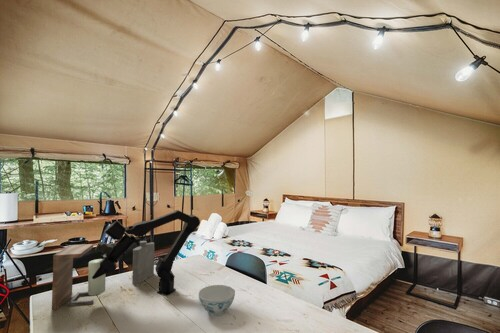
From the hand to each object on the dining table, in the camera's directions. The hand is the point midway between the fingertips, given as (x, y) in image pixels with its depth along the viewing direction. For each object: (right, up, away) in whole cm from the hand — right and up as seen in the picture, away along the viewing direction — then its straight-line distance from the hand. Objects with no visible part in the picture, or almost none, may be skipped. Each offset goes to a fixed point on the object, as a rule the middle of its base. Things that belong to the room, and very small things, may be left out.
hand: (93, 275), depth 113 cm
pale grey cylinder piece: (+1, -7, 0) cm, 7 cm away
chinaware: (+53, -13, -4) cm, 55 cm away
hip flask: (+9, -14, +29) cm, 33 cm away
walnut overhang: (-9, -13, +5) cm, 16 cm away
